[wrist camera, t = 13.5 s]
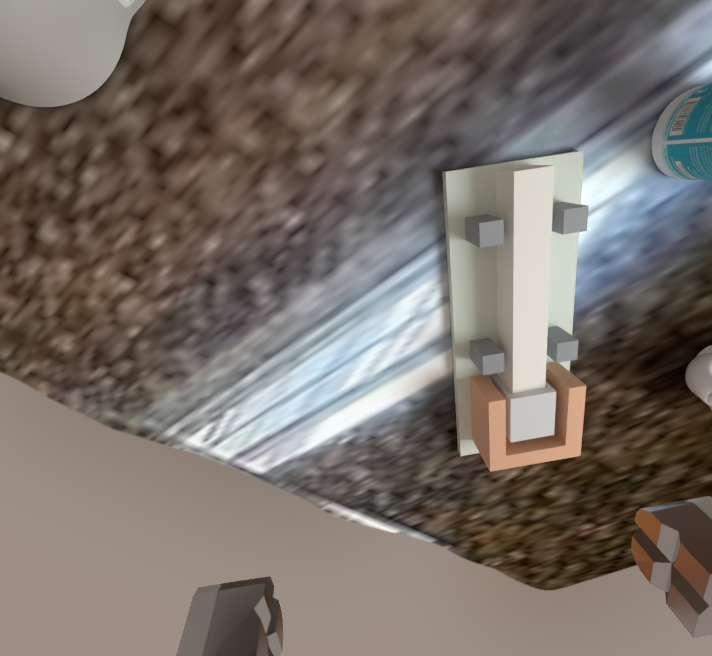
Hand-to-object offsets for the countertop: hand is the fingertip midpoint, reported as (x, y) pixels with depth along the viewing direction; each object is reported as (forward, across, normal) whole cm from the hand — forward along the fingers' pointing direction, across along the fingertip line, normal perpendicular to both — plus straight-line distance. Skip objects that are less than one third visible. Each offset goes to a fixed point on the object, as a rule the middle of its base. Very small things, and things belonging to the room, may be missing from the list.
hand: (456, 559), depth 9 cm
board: (+31, -15, +9) cm, 36 cm away
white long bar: (+30, -15, +7) cm, 34 cm away
